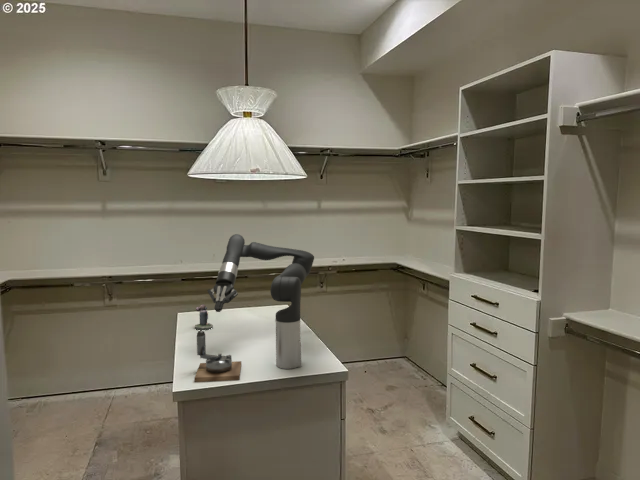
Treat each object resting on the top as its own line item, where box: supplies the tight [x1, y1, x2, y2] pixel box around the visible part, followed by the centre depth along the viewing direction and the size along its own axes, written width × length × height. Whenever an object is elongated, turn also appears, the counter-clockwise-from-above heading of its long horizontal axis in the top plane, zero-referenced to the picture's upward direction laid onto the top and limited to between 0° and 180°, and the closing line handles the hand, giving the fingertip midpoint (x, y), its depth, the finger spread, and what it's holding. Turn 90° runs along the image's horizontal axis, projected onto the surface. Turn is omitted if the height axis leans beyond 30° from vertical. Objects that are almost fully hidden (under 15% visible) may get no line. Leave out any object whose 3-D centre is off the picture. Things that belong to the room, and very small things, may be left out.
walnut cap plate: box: [194, 360, 242, 383], centre depth 160 cm, size 15×14×2 cm
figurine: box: [194, 303, 214, 331], centre depth 217 cm, size 8×8×12 cm
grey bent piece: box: [196, 330, 233, 373], centre depth 160 cm, size 14×9×13 cm, turn 67°
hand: (217, 310), depth 178 cm, fingers closed
